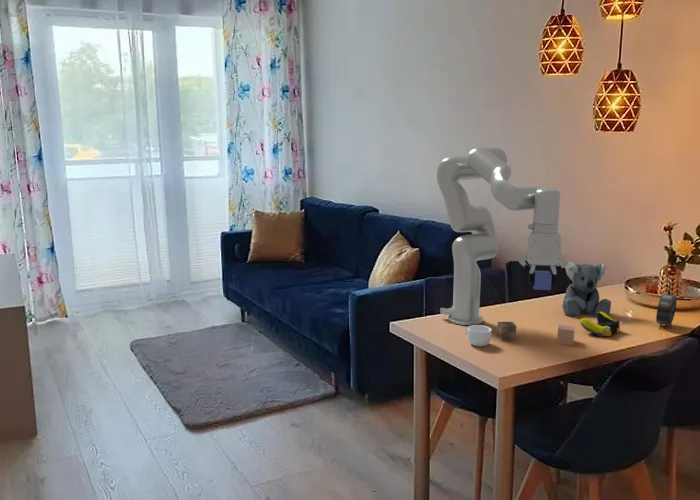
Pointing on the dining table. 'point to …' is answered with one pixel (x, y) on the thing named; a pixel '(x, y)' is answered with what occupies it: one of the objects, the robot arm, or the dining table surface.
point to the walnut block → (506, 331)
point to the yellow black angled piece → (601, 325)
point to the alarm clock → (666, 308)
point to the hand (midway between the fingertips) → (541, 285)
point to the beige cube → (565, 334)
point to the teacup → (479, 335)
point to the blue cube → (542, 280)
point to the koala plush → (584, 290)
